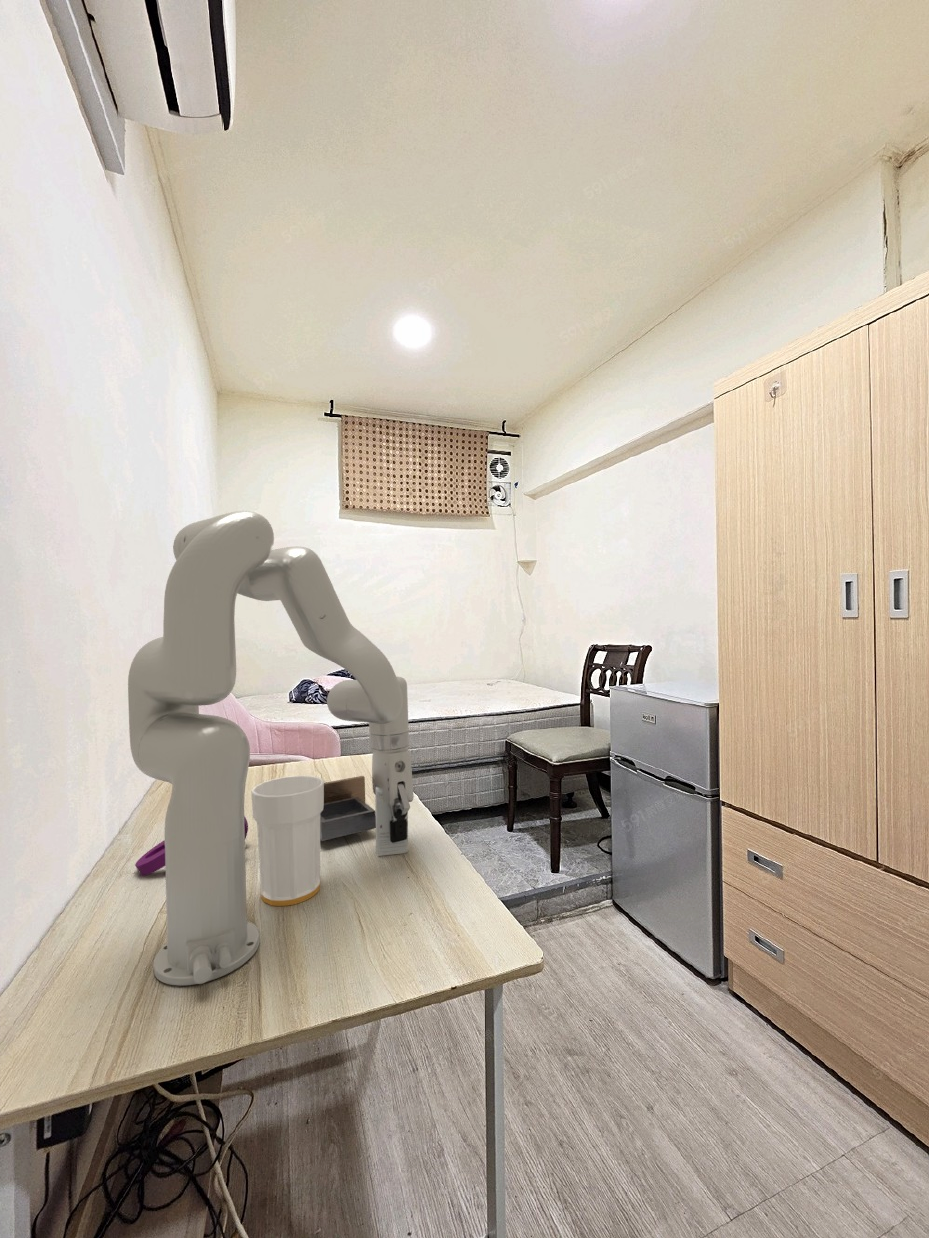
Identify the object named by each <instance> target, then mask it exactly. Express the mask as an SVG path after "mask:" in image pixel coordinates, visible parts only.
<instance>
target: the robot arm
mask: <svg viewBox="0 0 929 1238" xmlns="http://www.w3.org/2000/svg"><path fill="white" fill-rule="evenodd" d="M274 535H275V534H274V530H273V527H272V524H271V522H269V520H268V519H267V518H266V517H265V516H263V515H262V514H260V513H257V512H254V511H248V510H238V511H232V512H228V513H224V514H220V515H216V516H214V517H209V518H206V519H203V520H198V521H196V522H195V521H194V522H192V523H189V524H188V525H185V526H184V527H183V528H181V530H179V531H178V532H177V534H176V535H175V538H174V540H173V544H172V549H173V550H172V551H173V556H174V559H175V562H174V564H173V566H172V568H171V570H170V572H169V575H168V577H167V580H166V585H165V590H164V599H163V621H162V622H163V624H162V625H163V628H162V629H163V634H162V635H163V636H161V637H158V638H154V639H152V640H150V641H148V642H147V643H146V644H145V645H143V646H142V647H140V649H138V651H137V652H136V654H135V655H134V657H133V659H132V662H131V664H130V667H129V670H128V677H127V695H128V696H127V698H128V699H127V700H128V724H129V725H128V726H129V729H128V730H129V731H128V732H129V744H130V751H131V757H132V760H133V762H134V764H135V766H136V767H137V768H138V769H139V771H141V772H142V773H143V774H144V775H146V776H147V777H150V778H152V779H155V780H158V781H161V782H165V783H168V784H172V788H171V794H170V798H169V802H168V805H167V808H166V812H165V819H164V840H165V866H164V867H165V901H166V913H165V914H166V943H165V944H163V946H161V948H160V949H159V951H158V952H157V953H156V954H155V957H154V960H153V974H154V976H155V977H156V979H157V980H158V981H160V982H162V983H164V984H167V985H170V986H171V985H172V986H193V985H198V984H199V985H202V984H205V983H207V982H211V981H212V980H216V979H219V978H221V977H224V976H225V975H228V974H230V973H232V972H233V971H235V970H236V969H239V968H240V967H241V966H243V965H244V964H246V962H248V961H249V960H250V959H251V958H252V957H253V956H254V954H255V953H256V952H257V950H258V949H259V946H260V941H261V939H260V938H261V935H260V929H259V928H258V926H256V924H254V923H253V922H250V921H248V915H247V914H248V910H247V909H248V908H247V905H248V904H247V876H246V875H247V873H246V871H247V870H246V865H247V864H246V839H245V827H244V816H245V799H246V798H245V794H246V785H247V784H246V783H247V777H248V773H249V766H250V759H251V747H250V741H249V738H248V736H247V734H246V732H245V731H244V729H243V728H241V726H239V724H237V723H236V722H234V721H232V720H230V719H228V718H225V717H222V716H219V715H214V714H213V715H211V714H204V713H203V714H201V713H200V706H210V705H214V704H217V703H220V702H222V701H224V700H225V699H226V698H227V697H229V696H230V695H231V693H232V691H233V690H234V687H235V685H236V679H237V656H236V651H237V649H236V627H235V626H236V625H235V615H236V614H235V612H236V611H235V609H236V599H237V596H238V595H239V596H240V595H241V596H243V597H246V598H249V599H252V600H253V599H254V600H256V601H264V602H272V601H280V602H281V604H282V606H283V608H284V609H285V611H286V613H287V615H288V617H289V619H290V621H291V623H292V625H293V627H294V629H295V631H296V632H297V635H298V637H299V638H300V641H301V642H302V644H303V646H304V647H305V648H306V649H308V650H309V651H310V652H312V653H314V654H316V655H317V656H319V657H321V658H324V659H326V660H328V661H330V662H332V663H334V664H336V665H338V666H340V667H341V668H343V669H344V670H345V671H346V672H348V673H349V674H351V676H352V677H354V679H346V680H345V679H344V680H342V681H340V682H337V683H336V684H334V685H333V686H332V687H331V689H330V690H329V691H328V694H327V698H326V705H327V708H328V710H329V711H328V712H330V713H331V715H333V716H334V717H335V718H337V719H339V720H342V721H347V722H357V723H367V724H368V729H369V730H368V731H369V733H368V734H369V751H370V752H372V757H371V759H372V760H371V761H372V762H371V782H372V783H371V785H372V792H373V794H374V795H375V796H376V793H375V787H377V788H378V789H380V790H381V791H382V794H383V799H384V802H385V803H387V804H389V805H390V812H391V819H392V820H391V821H390V841H391V842H392V843H395V842H399V841H402V840H406V839H407V813H408V812H409V810H410V809H411V804H410V803H411V802H413V801H414V783H413V782H414V781H413V772H412V762H411V757H410V752H409V749H410V738H409V737H410V734H409V703H408V697H409V696H408V683H407V680H406V679H405V678H403V677H402V676H397V675H396V673H395V670H394V669H393V666H392V665H391V661H389V659H388V658H387V657H386V655H385V653H383V652H382V650H381V649H380V648H378V646H376V645H375V644H374V643H373V642H372V641H371V640H370V639H369V638H368V637H367V636H365V635H364V634H363V633H362V632H361V631H360V630H358V629H357V628H356V627H354V625H353V624H352V623H351V622H350V619H349V618H348V616H347V613H346V612H345V609H344V607H343V604H341V601H340V599H339V596H338V594H337V592H336V591H335V588H334V585H333V583H332V581H331V578H330V576H329V575H328V572H327V570H326V567H325V565H324V564H323V562H322V560H321V558H320V557H319V555H318V554H317V553H316V552H315V551H314V550H312V549H311V548H308V547H305V546H287V547H280V548H274V543H275V542H274V541H275V536H274ZM273 548H274V549H273ZM397 799H399V801H400V802H398V803H395V802H394V800H397ZM396 806H400V808H399V809H397V811H396V812H395V807H396ZM408 814H409V813H408Z"/></svg>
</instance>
